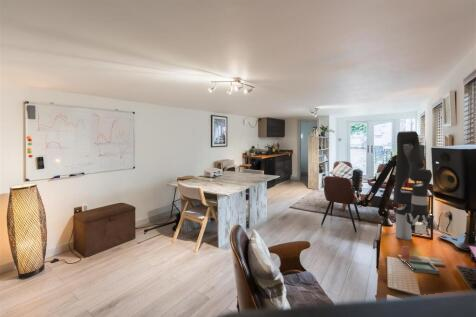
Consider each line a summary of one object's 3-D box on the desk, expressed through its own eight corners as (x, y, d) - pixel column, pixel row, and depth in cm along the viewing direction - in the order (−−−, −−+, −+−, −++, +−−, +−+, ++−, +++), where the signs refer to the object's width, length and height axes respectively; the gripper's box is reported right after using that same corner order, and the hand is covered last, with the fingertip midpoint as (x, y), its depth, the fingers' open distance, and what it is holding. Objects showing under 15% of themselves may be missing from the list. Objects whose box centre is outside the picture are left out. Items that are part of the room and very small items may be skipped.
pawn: (399, 256, 135) (400, 243, 134) (407, 256, 134) (407, 244, 133) (402, 259, 131) (403, 246, 130) (410, 260, 130) (411, 247, 129)
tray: (406, 263, 129) (406, 259, 128) (429, 265, 126) (429, 261, 126) (414, 271, 120) (414, 268, 120) (439, 274, 117) (439, 270, 117)
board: (397, 256, 136) (397, 254, 136) (437, 259, 131) (437, 258, 131) (402, 262, 129) (403, 260, 129) (445, 266, 124) (445, 264, 124)
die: (411, 230, 139) (411, 221, 138) (421, 230, 138) (421, 222, 137) (415, 233, 134) (416, 224, 134) (426, 233, 133) (426, 225, 132)
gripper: (430, 201, 136) (429, 229, 137) (402, 200, 140) (402, 228, 141) (437, 205, 129) (436, 234, 130) (408, 204, 133) (407, 232, 134)
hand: (418, 230), depth 136 cm, fingers closed on die, 5 cm apart
